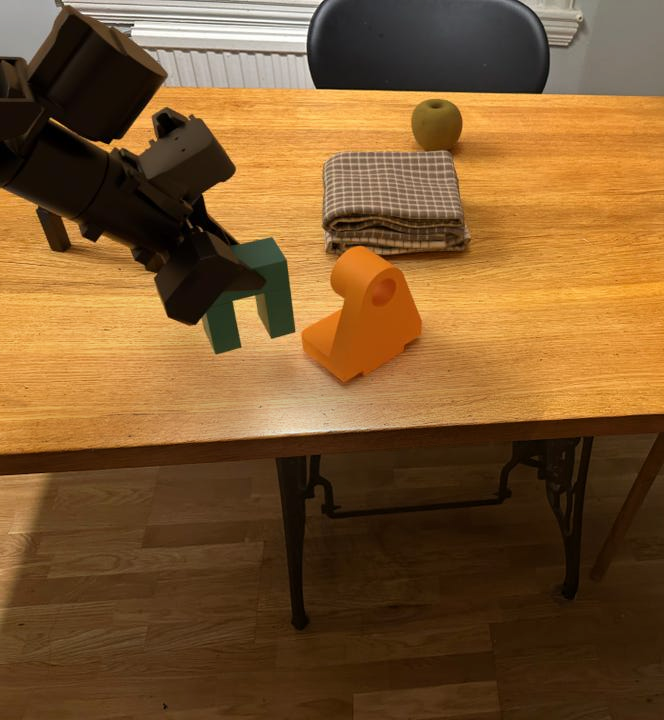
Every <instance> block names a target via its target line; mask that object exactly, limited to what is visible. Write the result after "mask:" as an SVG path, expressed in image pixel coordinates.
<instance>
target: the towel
mask: <svg viewBox="0 0 664 720" xmlns="http://www.w3.org/2000/svg"><path fill="white" fill-rule="evenodd" d="M321 178H322V188H323V195H322V202H321V203H322V209H321V210H322V212H321V213H322V214H321V217H322V218H321V228H322V229H323V237H324V248H323V249H324V251H325V254H327V255H335V256H339V257H340V256H341V255H342V254H343V253H344V252H346V251H347V250H349V249H350V248H353V247H356V246H363V247H366V248H368V249H369V250H371V251H372V252H374V253H375V254H377V255H378V256H393V255H402V254H411V253H414V254H415V253H419V252H421V253H424V252H425V253H426V252H463V251H464V252H465V251H466V250H467V249H468V246H469V244H470V243H471V242H472V236H471V234H470V231H469V229H468V226H467V222H466V220H465V212H464V208H463V204H462V198H461V191H460V185H459V184H460V180H459V178H458V173H457V170H456V168H455V163H454V158H453V155H452V153H451V152H450V151H448V150H444V151H435V152H434V151H431V152H430V151H390V150H385V151H384V150H380V151H379V150H378V151H356V150H355V151H354V150H352V151H350V150H349V151H348V150H347V151H339V152H336V153H335V154H333V155H332V156H330V157H329V158H328V159H326V160H325V162H324V163H323V165H322V175H321Z"/></svg>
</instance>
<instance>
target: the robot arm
mask: <svg viewBox="0 0 664 720" xmlns="http://www.w3.org/2000/svg"><path fill="white" fill-rule="evenodd" d="M168 78H169V74H168V72H167V71H166V70H165V68H164V67H163V66H162V65H161V64H160V63H159V62H158V61H157V59H155V58H154V57H153V56H152V55H151V54H150V53H148V52H147V51H146V49H143V47H141V46H140V45H139V44H138V43H137V42H135V41H134V40H133V39H131V38H130V37H129V36H127V35H126V34H125V33H123V32H122V31H121V30H119V29H118V28H117V27H115V26H114V25H111V26H108V25H106V24H105V23H103V22H102V21H100V20H98V19H96V18H94V17H92V16H90V15H85V14H83V13H82V12H80V11H79V10H78V9H76V8H75V7H73V6H72V5H70V4H65V5H64V6H63V7H62V9H61V10H60V11H59V12H58V14H57V16H56V18H55V19H54V21H53V24H52V27H51V30H50V32H49V34H48V35H47V37H46V38H45V40H44V41H43V43H42V44H41V45H40V47H39V48H38V50H37V51H36V53H35V54H34V56H33V57H32V58H31V60H30V61H29V62H28V61H27V60H26V59H25V58H24V57H22V56H3V55H1V56H0V190H3V191H6V192H8V193H9V194H12V195H14V196H16V197H19V198H21V199H23V200H25V201H28V202H30V203H32V204H33V205H35V206H37V207H38V206H40V207H42V208H44V209H47V210H49V211H51V212H53V213H55V214H57V215H59V216H62V217H61V218H63V217H64V218H63V219H66V220H68V221H70V222H73V223H75V224H77V226H78V229H79V232H80V234H81V238H84V239H86V240H88V241H91V242H92V243H94V244H96V243H97V242H98V240H99V239H100V238H101V236H102V237H105V238H107V239H109V240H111V241H113V242H116V243H118V244H120V245H121V246H124V247H126V248H128V249H129V250H130V253H131V255H132V258H133V260H134V262H137V263H139V264H141V265H143V266H144V265H145V266H147V265H148V263H149V262H150V261H151V260H152V258H153V257H154V256H155V255H156V253H157V254H159V255H161V256H162V259H163V261H164V263H165V264H164V266H163V267H162V268H161V269H160V271H159V272H158V273H157V272H156V274H155V276H154V277H153V282H154V285H155V289H156V292H157V294H158V297H159V299H160V302H161V304H162V306H163V309H164V311H165V314H166V317H167V319H171V320H173V321H176V322H178V323H181V324H183V325H186V326H189V327H192V326H196V325H198V323H199V322H200V321H201V320H202V319H201V318H202V317H203V316H204V314H205V313H206V312H207V311H208V310H209V308H210V307H211V306H212V305H213V303H214V302H215V301H216V300H217V299H218V297H219V296H220V295H221V294H222V293H223V292H234V291H254V290H261V289H262V287H263V286H264V285H265V284H266V279H265V278H264V277H262V276H261V275H260V274H259V273H257V272H256V271H255V270H254V269H252V268H251V267H250V266H248V265H247V264H245V263H244V262H243V261H241V260H240V259H239V258H237V257H236V256H235V255H233V253H232V251H231V246H233V245H237V244H241V242H240V241H238V239H236V238H235V237H234V236H233V235H232V234H231V233H230V232H229V231H228V230H226V229H225V228H224V227H223V226H222V225H221V224H220V223H219V222H218V220H216V219H215V218H214V217H213V216H212V215H210V213H208V211H207V210H208V209H207V206H206V202H205V197H204V193H206V192H207V191H209V190H211V188H214V187H215V186H217V185H219V183H225V182H227V181H229V180H230V179H232V178H233V177H234V175H235V174H236V171H237V167H236V165H235V163H234V162H233V160H232V159H231V157H230V156H229V155H228V153H227V151H226V150H225V148H224V147H223V145H222V144H221V143H220V141H219V140H218V139H217V137H216V136H215V134H214V133H213V132H212V131H211V129H210V128H209V127H208V125H207V123H205V121H204V120H203V119H202V118H201V117H196V116H195V115H194V113H191V114H190V115H188V117H187V116H186V115H184V114H182V113H181V112H178V111H176V110H174V109H172V108H170V107H168V106H164V107H163V108H162V109H160V110H159V111H157V112H155V113H154V114H151V123H152V126H153V132H154V135H155V139H156V141H155V140H154V139H153V138H151V139H149V140H148V144H149V145H150V146H149V147H148V148H145V150H144V151H143V152H141V153H140V154H136V153H134V152H132V151H130V150H128V148H125V147H121V148H120V149H119V148H118V147H116V146H114V147H113V148H112V150H111V151H110V152H109V151H107V150H105V149H103V148H101V147H99V146H98V145H96V144H95V143H99V142H100V143H102V144H104V145H110V144H111V143H112V142H113V140H116V141H120V140H122V139H124V137H125V135H126V134H127V133H128V131H129V130H130V129H131V127H132V126H133V124H134V123H135V122H136V121H137V119H138V118H139V117H140V115H141V114H142V113H143V111H144V110H145V108H146V107H147V106H148V104H149V103H150V102H151V100H152V99H153V98H154V96H155V95H156V94H157V93H158V91H159V90H160V88H161V87H162V86H163V84H164V83H165V82H166V80H167V79H168ZM145 266H144V267H145Z"/></svg>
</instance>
